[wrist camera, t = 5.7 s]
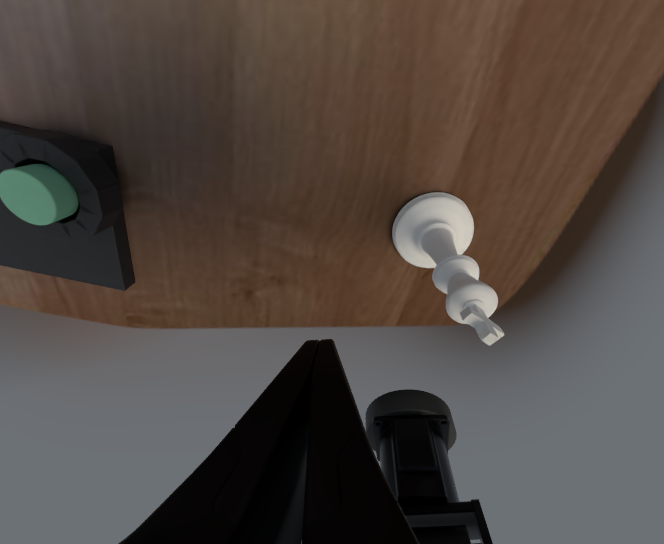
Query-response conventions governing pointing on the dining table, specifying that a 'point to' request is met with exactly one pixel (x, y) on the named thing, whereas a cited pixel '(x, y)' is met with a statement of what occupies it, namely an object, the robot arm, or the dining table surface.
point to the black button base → (73, 231)
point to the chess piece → (447, 257)
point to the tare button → (38, 194)
